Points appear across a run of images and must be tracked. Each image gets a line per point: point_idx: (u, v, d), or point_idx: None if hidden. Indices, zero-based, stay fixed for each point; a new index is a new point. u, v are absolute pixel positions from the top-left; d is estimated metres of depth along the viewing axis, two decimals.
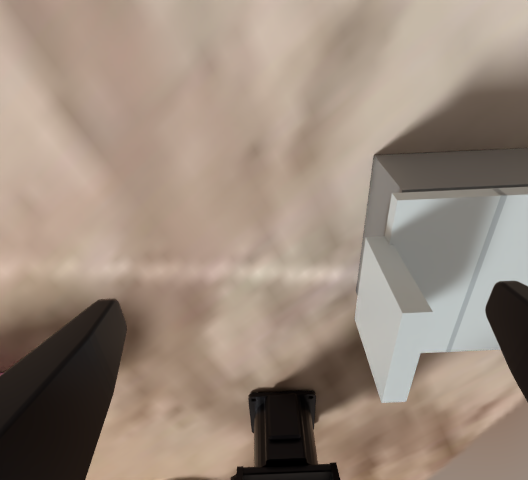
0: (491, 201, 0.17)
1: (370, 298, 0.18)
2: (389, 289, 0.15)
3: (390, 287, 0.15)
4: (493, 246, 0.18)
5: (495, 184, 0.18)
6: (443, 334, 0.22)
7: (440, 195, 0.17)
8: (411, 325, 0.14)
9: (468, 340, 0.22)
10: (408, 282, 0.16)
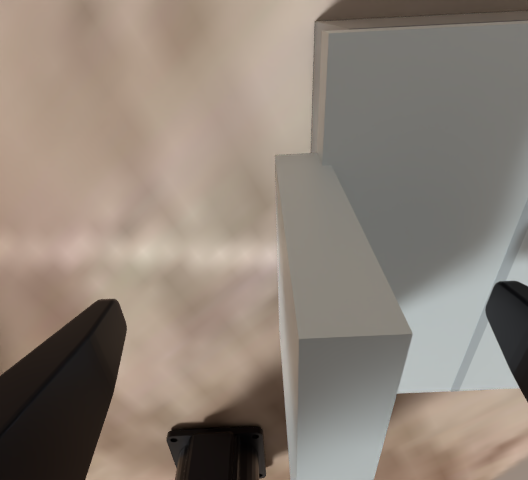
0: None
1: (281, 289, 0.08)
2: (287, 259, 0.05)
3: (288, 254, 0.05)
4: None
5: None
6: (446, 361, 0.11)
7: (441, 27, 0.07)
8: (340, 379, 0.04)
9: (493, 371, 0.12)
10: (346, 240, 0.05)
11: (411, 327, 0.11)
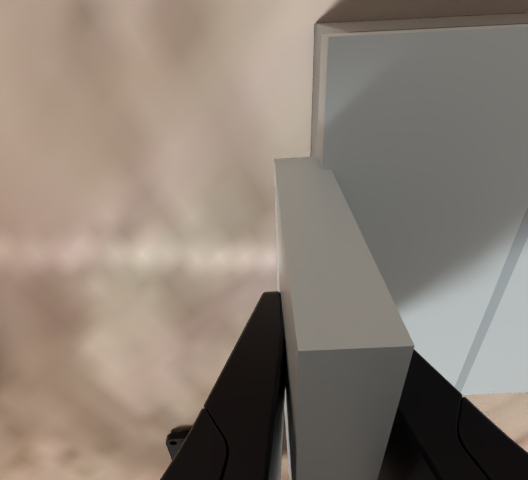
0: None
1: (281, 295, 0.08)
2: (286, 267, 0.05)
3: (287, 262, 0.05)
4: None
5: None
6: (447, 365, 0.11)
7: (442, 30, 0.07)
8: (340, 390, 0.04)
9: (494, 376, 0.12)
10: (347, 247, 0.05)
11: (412, 332, 0.11)
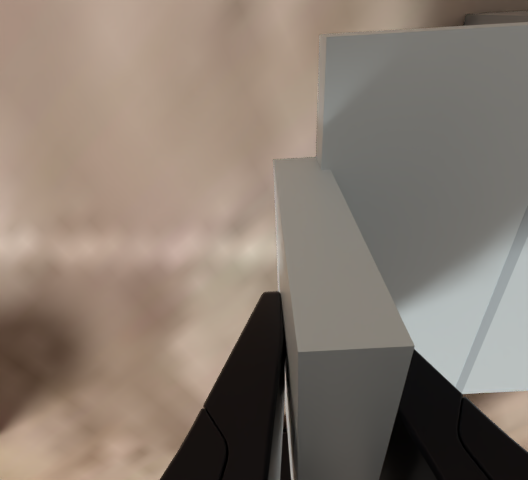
0: None
1: (281, 295, 0.08)
2: (286, 268, 0.05)
3: (286, 262, 0.05)
4: None
5: None
6: (448, 364, 0.11)
7: None
8: (340, 391, 0.04)
9: (495, 374, 0.12)
10: (346, 247, 0.05)
11: (412, 331, 0.11)
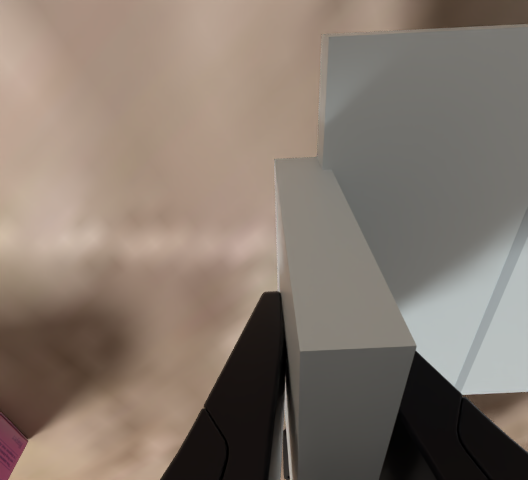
0: None
1: (281, 295, 0.08)
2: (287, 267, 0.05)
3: (288, 261, 0.05)
4: None
5: None
6: (447, 365, 0.11)
7: None
8: (341, 390, 0.04)
9: (494, 375, 0.12)
10: (347, 247, 0.05)
11: (412, 331, 0.11)
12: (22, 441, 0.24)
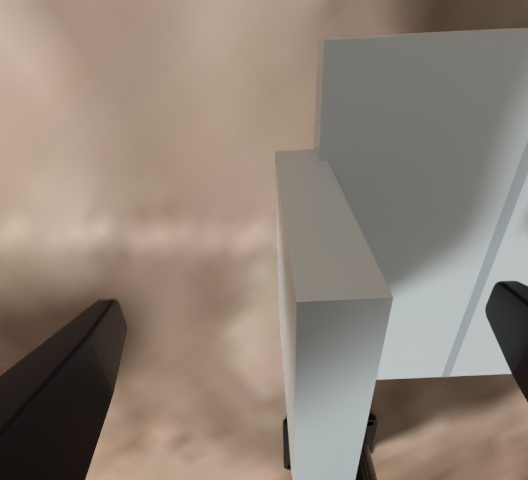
0: None
1: (281, 275, 0.09)
2: (287, 241, 0.06)
3: (287, 236, 0.06)
4: None
5: None
6: (437, 347, 0.12)
7: (426, 34, 0.07)
8: (332, 339, 0.05)
9: (481, 357, 0.12)
10: (339, 224, 0.06)
11: (403, 314, 0.11)
12: None
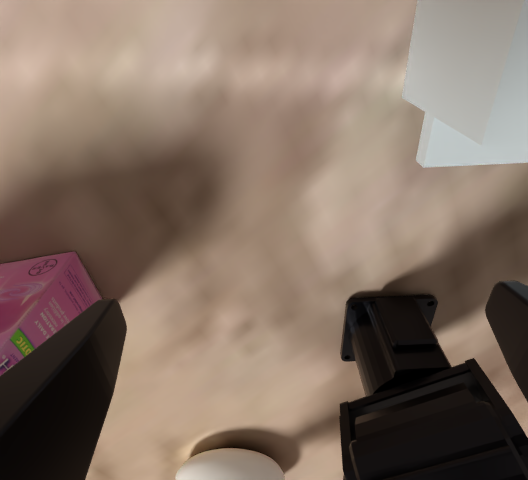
0: None
1: None
2: None
3: None
4: None
5: None
6: None
7: None
8: None
9: None
10: None
11: None
12: None
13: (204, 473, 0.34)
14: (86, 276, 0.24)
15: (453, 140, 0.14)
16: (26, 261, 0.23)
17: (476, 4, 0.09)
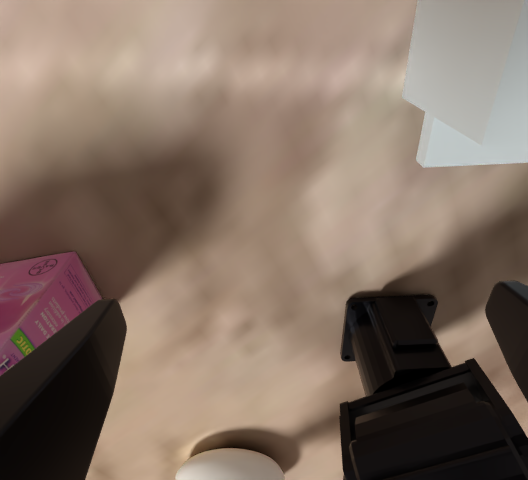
0: None
1: None
2: None
3: None
4: None
5: None
6: None
7: None
8: None
9: None
10: None
11: None
12: None
13: (204, 473, 0.34)
14: (86, 276, 0.24)
15: (453, 140, 0.14)
16: (26, 261, 0.23)
17: (476, 4, 0.09)
